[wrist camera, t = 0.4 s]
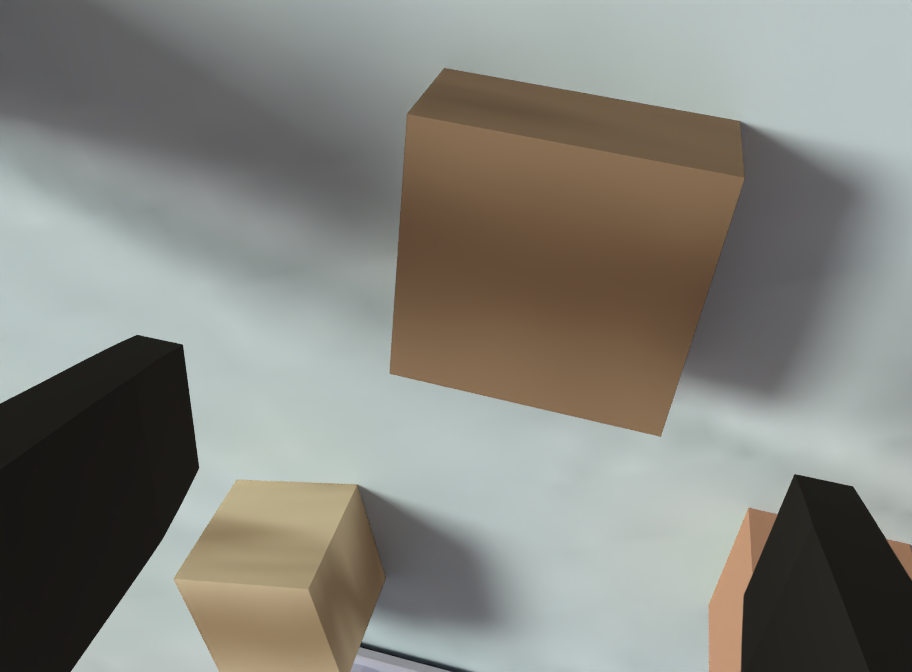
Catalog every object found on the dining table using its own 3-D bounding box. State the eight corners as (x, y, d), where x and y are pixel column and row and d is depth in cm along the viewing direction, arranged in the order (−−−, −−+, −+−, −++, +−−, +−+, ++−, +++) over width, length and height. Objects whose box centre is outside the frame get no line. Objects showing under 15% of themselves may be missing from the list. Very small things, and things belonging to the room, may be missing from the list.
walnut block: (666, 355, 20) (660, 436, 18) (425, 302, 21) (389, 373, 19) (739, 116, 17) (744, 177, 15) (447, 64, 18) (407, 114, 15)
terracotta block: (852, 638, 24) (882, 817, 20) (708, 603, 24) (709, 770, 20) (909, 543, 22) (956, 725, 18) (748, 506, 22) (758, 674, 18)
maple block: (386, 575, 27) (345, 685, 24) (274, 568, 28) (219, 671, 25) (358, 482, 25) (308, 589, 22) (237, 478, 26) (173, 578, 23)
